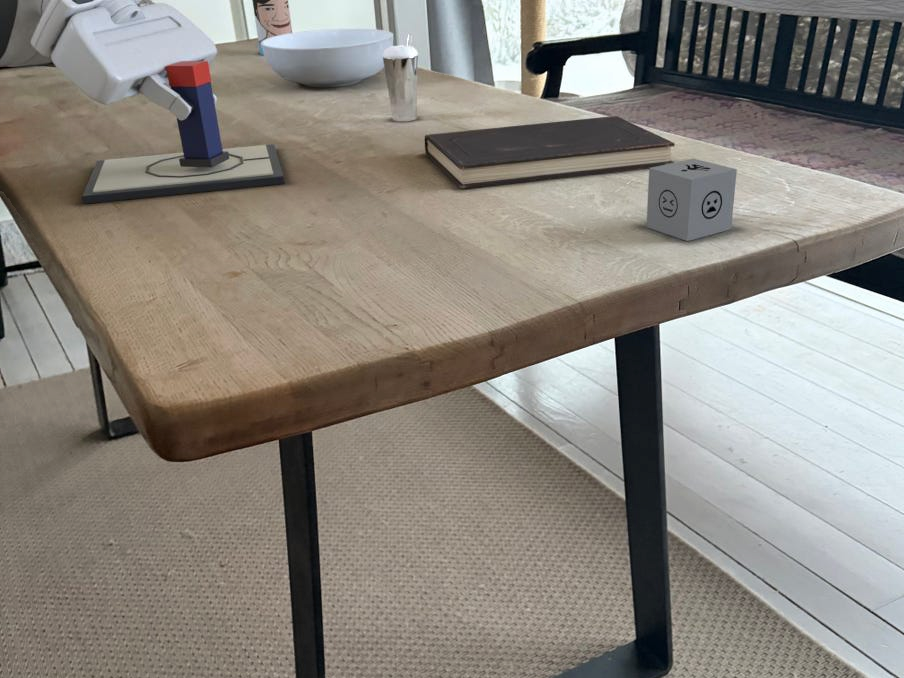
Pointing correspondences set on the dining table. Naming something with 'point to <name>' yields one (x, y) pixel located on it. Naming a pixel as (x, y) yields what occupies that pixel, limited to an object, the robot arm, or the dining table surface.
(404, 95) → the milkshake
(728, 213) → the dice cube
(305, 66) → the serving bowl
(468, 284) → the dining table surface
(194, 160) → the blue and red block
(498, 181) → the hardcover book
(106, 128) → the dining table surface
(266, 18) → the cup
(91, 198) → the beige flat board
